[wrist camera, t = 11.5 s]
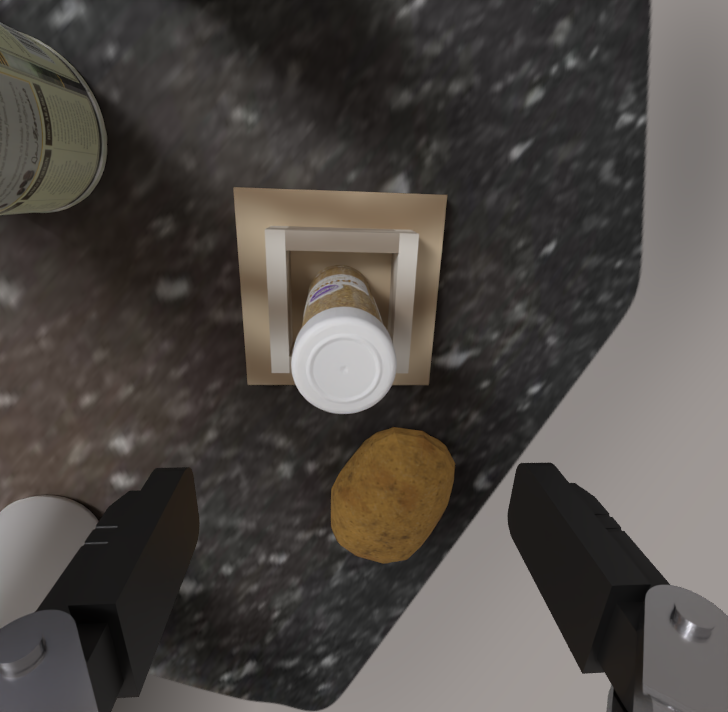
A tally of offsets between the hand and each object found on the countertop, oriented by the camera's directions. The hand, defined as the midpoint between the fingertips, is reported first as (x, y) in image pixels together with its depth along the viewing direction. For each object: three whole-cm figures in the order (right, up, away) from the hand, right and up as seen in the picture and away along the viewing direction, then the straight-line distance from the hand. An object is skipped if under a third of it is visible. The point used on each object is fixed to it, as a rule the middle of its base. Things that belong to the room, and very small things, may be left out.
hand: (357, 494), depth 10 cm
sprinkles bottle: (-2, +8, +20) cm, 21 cm away
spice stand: (-2, +8, +21) cm, 23 cm away
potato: (+2, -6, +27) cm, 28 cm away
